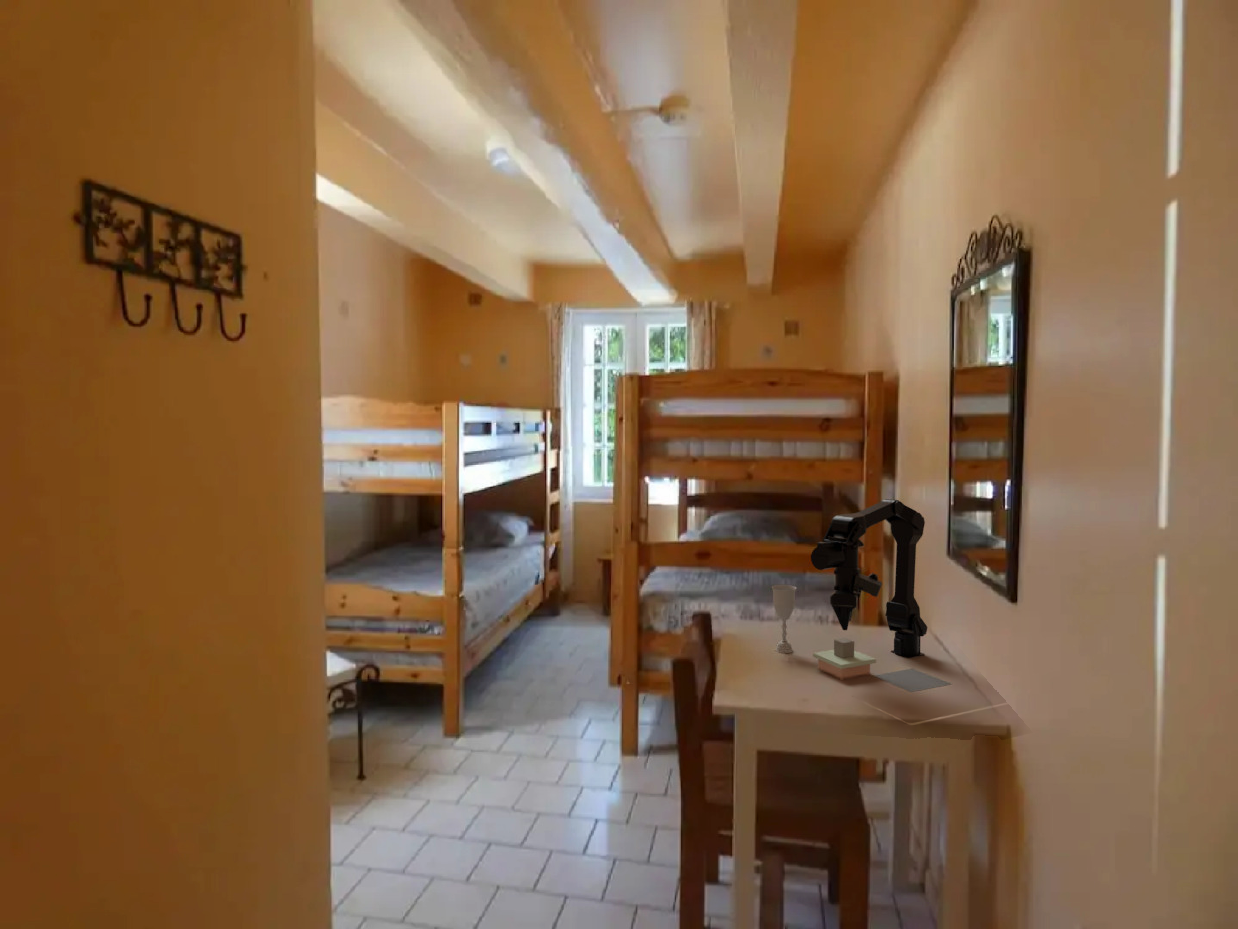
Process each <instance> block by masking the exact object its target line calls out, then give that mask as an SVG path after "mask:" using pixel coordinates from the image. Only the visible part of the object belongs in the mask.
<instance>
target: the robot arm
mask: <svg viewBox="0 0 1238 929" xmlns="http://www.w3.org/2000/svg"><path fill="white" fill-rule="evenodd" d="M883 521H886V522H887V523H888V524H889V525H890V534H891V535H892V537H893V539H894V540H895V542H896V552H895V553H896V555H895V556H896V557H895V577H894V596H893V597H892V598H891V600H890V601H889V600H888V601H886V604H885V608H886V609H885V610H886V611H885V615H884V616H885V617H886V621H887V625H888V630H889V631H890V632H891V631H892V632H894V639H893V650H890V653H893V654H895V655H897V656H900V657H903V658H906V659H911V658H917V657H921V656H925V655H926V654H925V653H923V652H921V637H924V636H925V635H927V632H928V626H927V624H926V623H925V621H924V620H923V619H922V616H921V608H920V606H919V604H918V602H917V599H916V598H915V578H916V556H917V544H918V543H919V541H920V540H921V539H922V537H923V535H924V529H925V524H926V523H925V522H926V521H925V517H924V516H922V514H921V513H920V512H917V510H915V509H914V508H911V507H909V506H907V505H905V504H904V503H903V502H902V501H900V500H899V499H889V498H885V499H882V500H881V501H880V502H877V503H875V504H873V505H871V506H868V507H866V508H864V509H861V510H860V511H857V512H853V513H843V514H837V515H835V516H834V517H833V518H832V520H831V522H830V524H829V526H828V528H827V530H826V533H825V535H824V537H823V539H822V541H817V543H816V546H815V548H814V549H813V550H812V552H811V554H810V561H811V563H812V566H813V567H814V568H815V569H816V570H819V571H823V570H830V569H833V575H834V585H833V586H834V587H833V590H834V591H833V592H832V593H831V595H830V598H829V600H830V601H829V603H830V604H829V605H831V607H832V610H833V611H834V613H835V615H836V618H837V620H838V622H839V624H840V627H841V630H843V631H848V628H849V622H851V621H852V615H853V611H854V609H855V608H857V606H858V600H859V598H860V597H861V595H862V592H864V593H867V594H869V595H870V596H872V597H875V598H876V597H877V598H878V596H879V593H880V591H881V588H882V586H883V582H882V581H881V580H879V576H878V574H876V573H873V572H872V573H870V574H869V575H864V574H862V573H861V568H860V567H859V548H861V547H864V546H865V544H864V542H862V541H861V540H860V538H861V537H863V536H864V535H865V534H866V533H867V529H869V528H870V527H873V526H874V525H877V524H880V522H881V523H882V522H883Z"/></svg>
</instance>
